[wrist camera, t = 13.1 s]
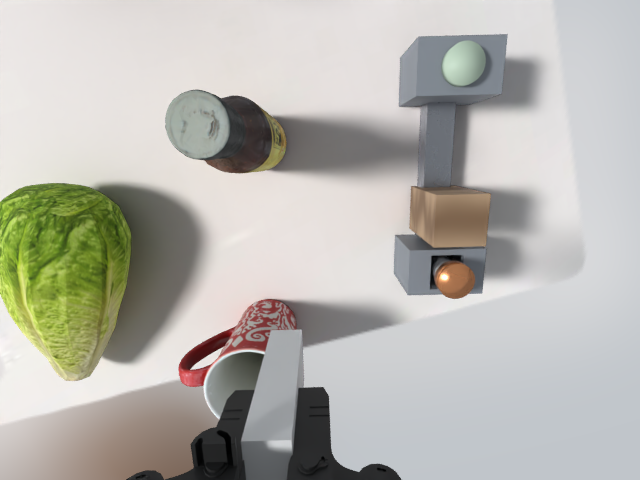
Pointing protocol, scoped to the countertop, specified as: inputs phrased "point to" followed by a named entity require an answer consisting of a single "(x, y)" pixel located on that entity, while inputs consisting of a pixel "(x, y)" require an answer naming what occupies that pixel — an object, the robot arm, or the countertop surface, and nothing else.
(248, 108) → the sauce bottle
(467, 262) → the cabinet far
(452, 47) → the cabinet near
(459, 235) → the carriage
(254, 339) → the mug
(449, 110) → the rail
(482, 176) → the countertop surface
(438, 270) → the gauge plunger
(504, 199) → the countertop surface
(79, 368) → the lettuce
